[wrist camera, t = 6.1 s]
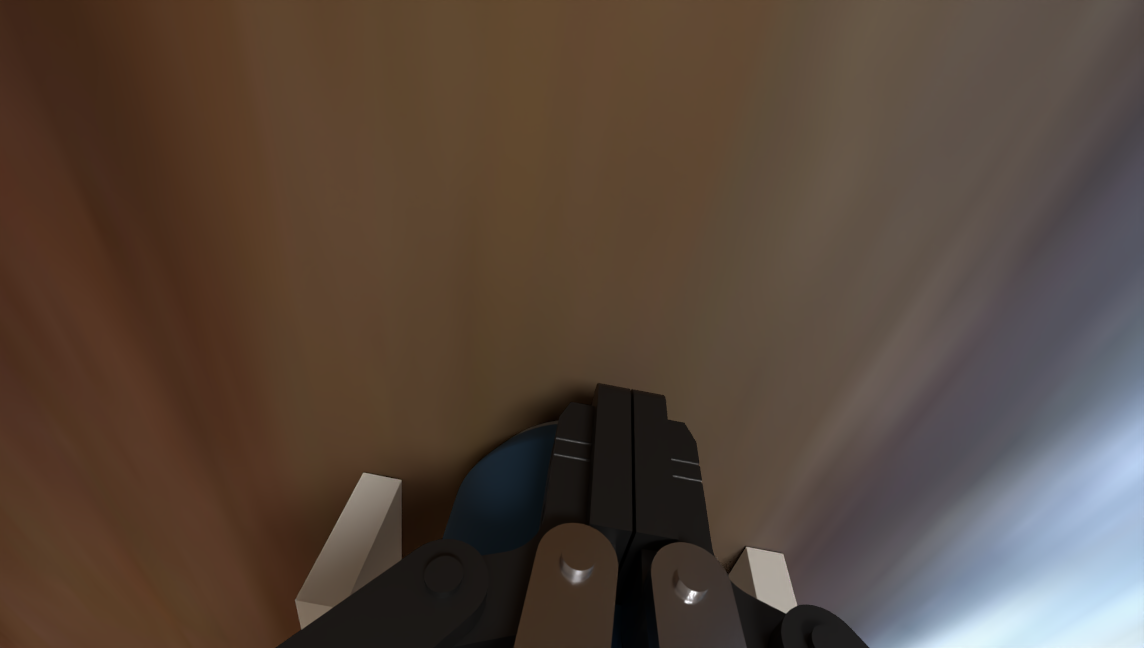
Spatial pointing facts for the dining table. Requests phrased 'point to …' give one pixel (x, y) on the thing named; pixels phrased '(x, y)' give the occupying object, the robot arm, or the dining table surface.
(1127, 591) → the dining table surface
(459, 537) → the soda can
